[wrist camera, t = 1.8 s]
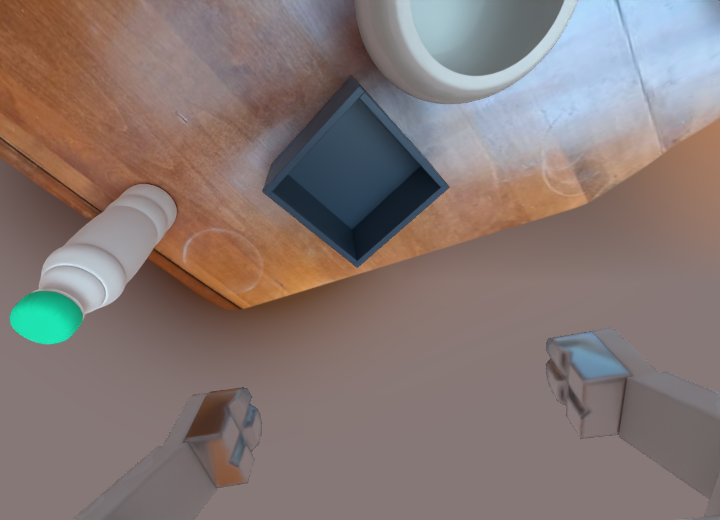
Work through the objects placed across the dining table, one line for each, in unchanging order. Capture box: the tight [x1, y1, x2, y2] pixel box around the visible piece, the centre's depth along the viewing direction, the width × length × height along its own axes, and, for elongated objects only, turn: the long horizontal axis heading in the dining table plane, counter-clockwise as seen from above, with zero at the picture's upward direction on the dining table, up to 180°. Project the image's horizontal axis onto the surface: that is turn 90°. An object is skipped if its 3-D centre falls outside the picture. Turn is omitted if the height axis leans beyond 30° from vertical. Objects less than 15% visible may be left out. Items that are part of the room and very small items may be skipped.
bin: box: [262, 75, 450, 268], centre depth 47 cm, size 16×16×10 cm
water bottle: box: [10, 184, 177, 344], centre depth 41 cm, size 7×7×25 cm
